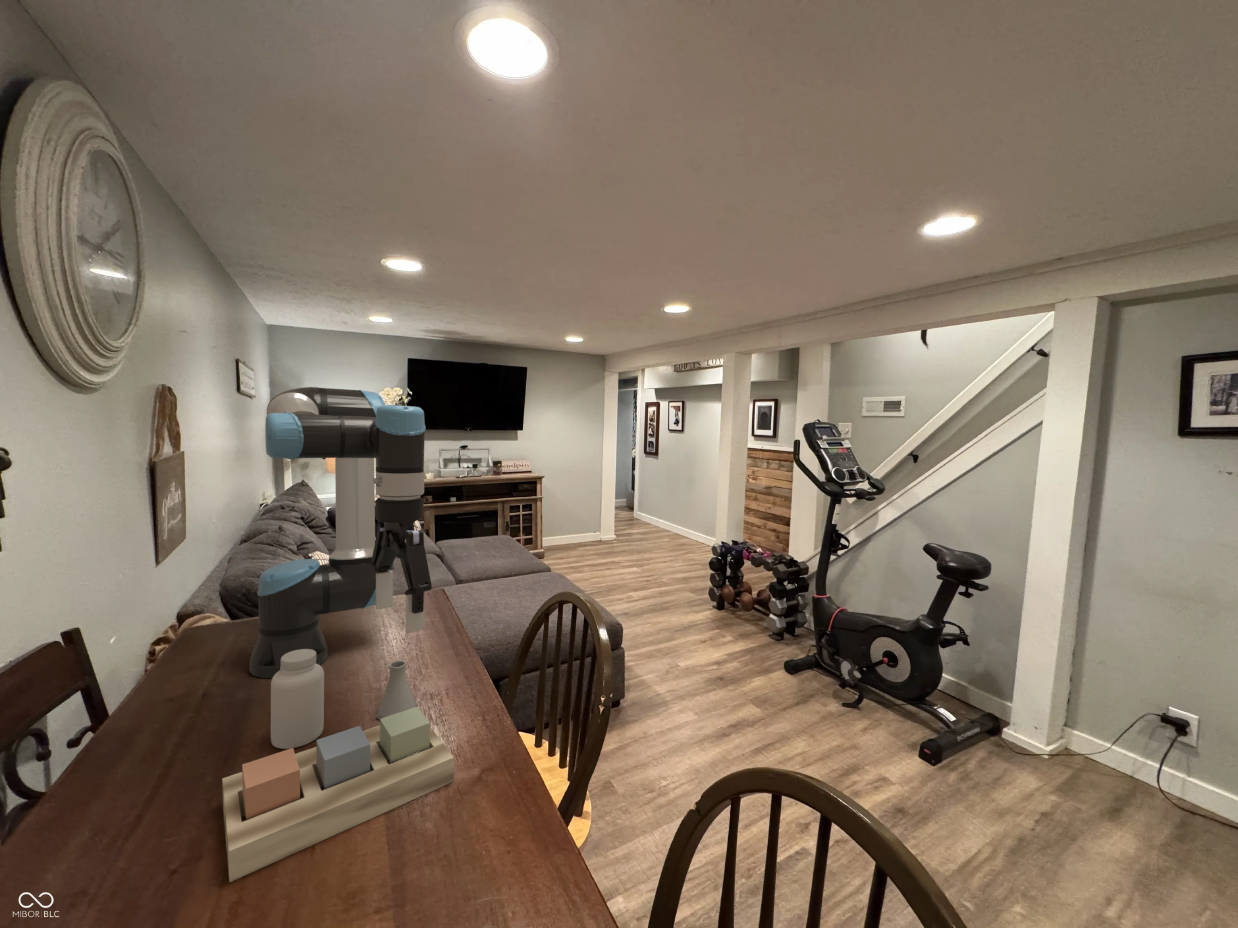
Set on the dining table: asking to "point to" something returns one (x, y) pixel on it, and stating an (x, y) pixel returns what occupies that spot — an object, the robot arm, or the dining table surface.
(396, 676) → the flask
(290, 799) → the button terracotta
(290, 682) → the pill bottle
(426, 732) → the button sage
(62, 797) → the dining table surface
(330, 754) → the button slate
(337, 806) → the panel
